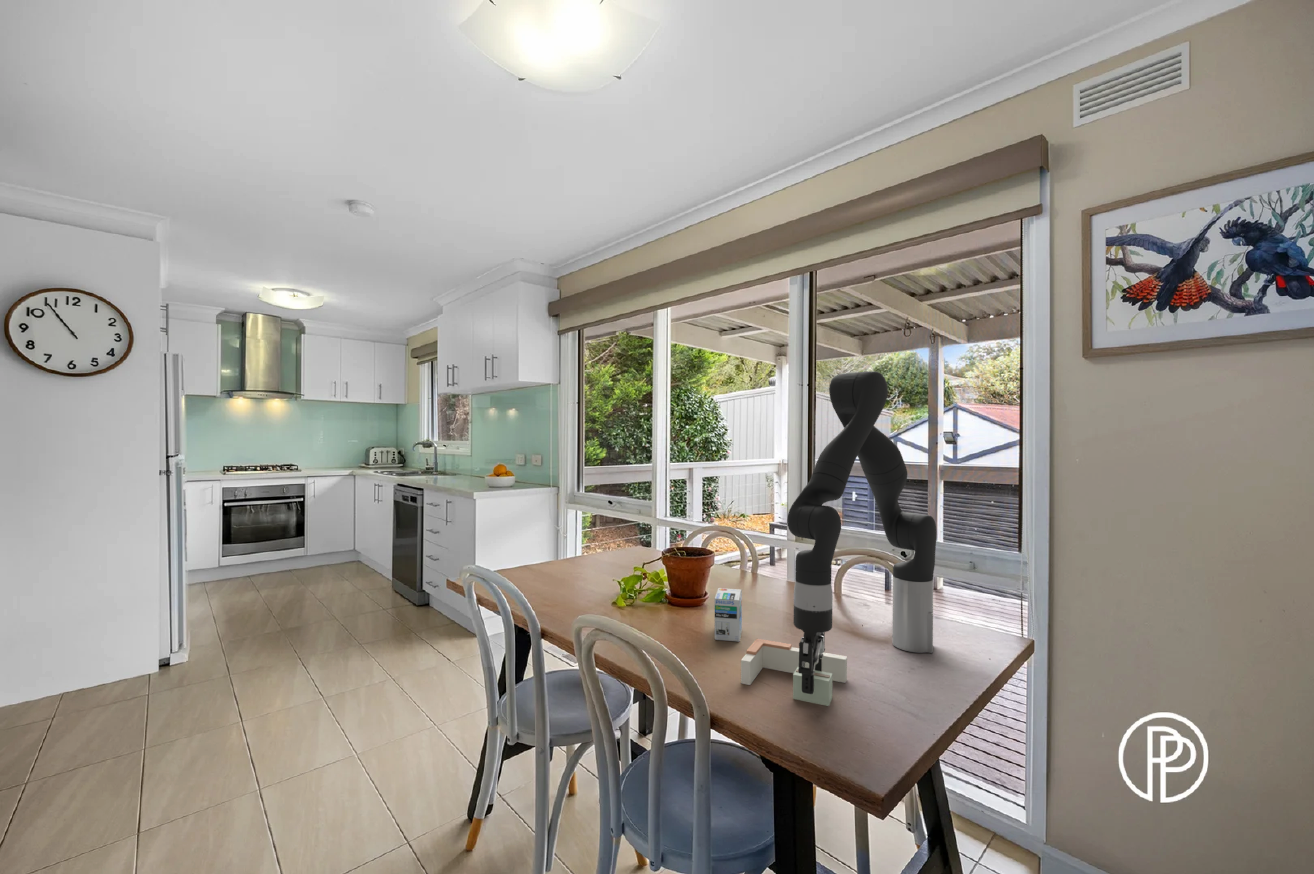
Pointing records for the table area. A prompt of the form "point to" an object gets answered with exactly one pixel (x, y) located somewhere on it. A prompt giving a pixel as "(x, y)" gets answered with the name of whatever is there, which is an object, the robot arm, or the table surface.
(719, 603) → the light bulb box
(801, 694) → the block
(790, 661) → the corner wall
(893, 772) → the table surface
